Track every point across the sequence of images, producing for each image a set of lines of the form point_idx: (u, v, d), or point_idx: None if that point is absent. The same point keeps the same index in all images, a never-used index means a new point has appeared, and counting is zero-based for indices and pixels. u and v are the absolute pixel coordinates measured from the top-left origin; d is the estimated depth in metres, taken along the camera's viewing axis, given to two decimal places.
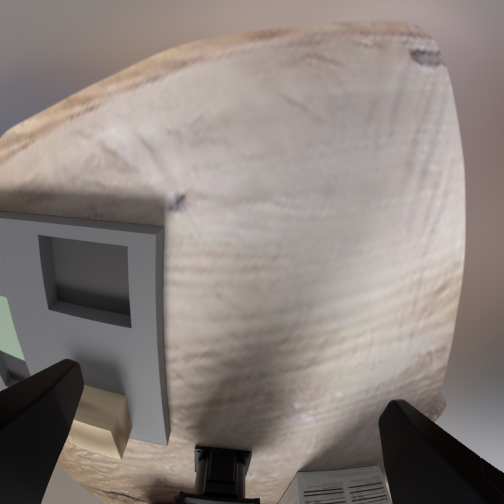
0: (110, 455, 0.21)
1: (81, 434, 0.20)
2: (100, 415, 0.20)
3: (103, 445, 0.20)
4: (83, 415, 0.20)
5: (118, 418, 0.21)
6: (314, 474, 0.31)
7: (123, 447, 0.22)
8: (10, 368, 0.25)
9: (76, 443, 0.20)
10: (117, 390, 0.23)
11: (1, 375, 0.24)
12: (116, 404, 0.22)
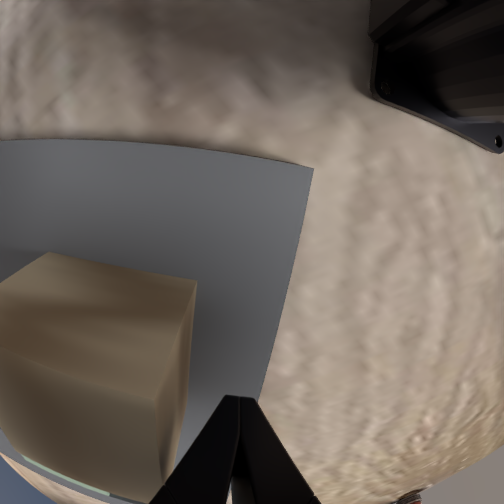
0: (137, 430, 0.04)
1: (54, 451, 0.05)
2: None
3: (63, 416, 0.04)
4: None
5: (8, 288, 0.05)
6: None
7: (139, 346, 0.05)
8: None
9: (147, 500, 0.05)
10: None
11: None
12: None
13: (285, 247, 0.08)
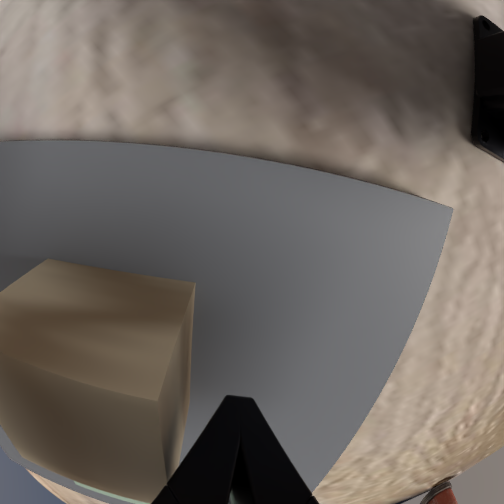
0: (141, 431, 0.04)
1: (60, 455, 0.05)
2: None
3: (69, 420, 0.04)
4: None
5: (10, 296, 0.06)
6: None
7: (140, 349, 0.05)
8: None
9: None
10: None
11: None
12: None
13: (427, 271, 0.08)
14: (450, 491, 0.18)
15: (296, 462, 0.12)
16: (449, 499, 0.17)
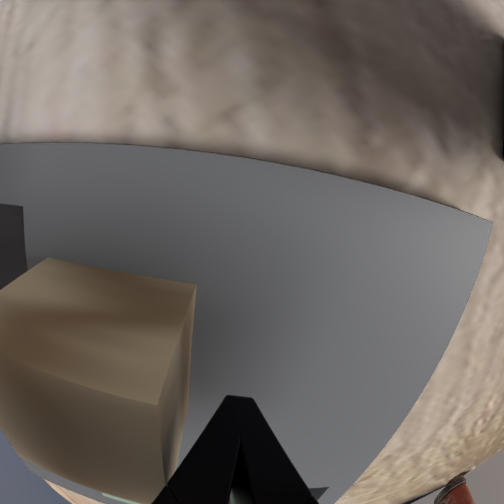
0: (140, 435, 0.04)
1: (58, 456, 0.05)
2: None
3: (67, 422, 0.04)
4: None
5: (9, 295, 0.06)
6: None
7: (140, 351, 0.05)
8: None
9: None
10: (245, 314, 0.09)
11: None
12: None
13: (470, 279, 0.08)
14: (465, 486, 0.18)
15: (339, 462, 0.12)
16: (464, 494, 0.17)
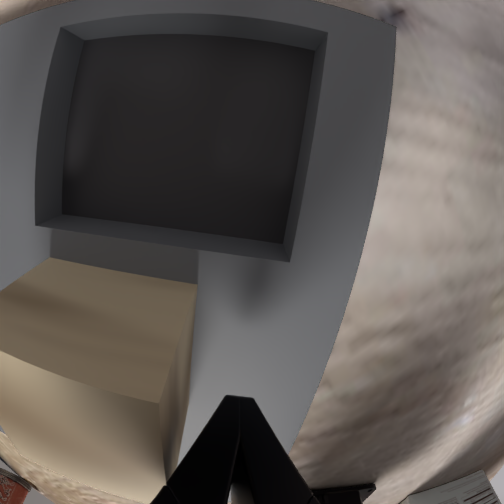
0: (133, 496, 0.05)
1: (28, 420, 0.05)
2: (107, 335, 0.05)
3: (109, 467, 0.05)
4: (34, 334, 0.05)
5: (178, 353, 0.06)
6: (427, 494, 0.18)
7: (175, 468, 0.07)
8: None
9: (20, 450, 0.05)
10: (192, 427, 0.10)
11: None
12: (170, 304, 0.07)
13: None
14: (26, 493, 0.18)
15: None
16: (22, 496, 0.17)
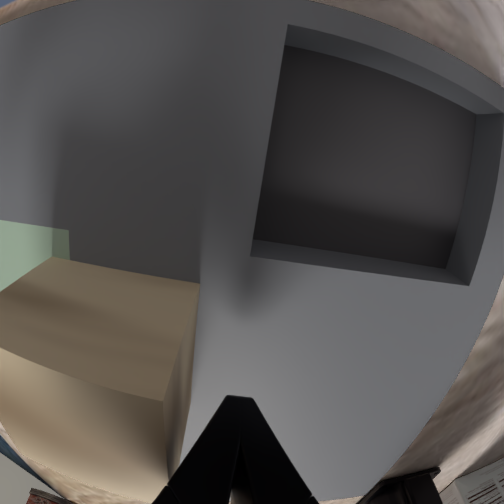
0: (135, 495, 0.05)
1: (30, 418, 0.05)
2: (110, 333, 0.05)
3: (111, 466, 0.05)
4: (37, 333, 0.05)
5: (182, 352, 0.06)
6: (469, 477, 0.19)
7: (177, 466, 0.07)
8: None
9: (22, 449, 0.05)
10: (353, 433, 0.11)
11: None
12: (173, 303, 0.07)
13: (336, 497, 0.13)
14: None
15: None
16: None
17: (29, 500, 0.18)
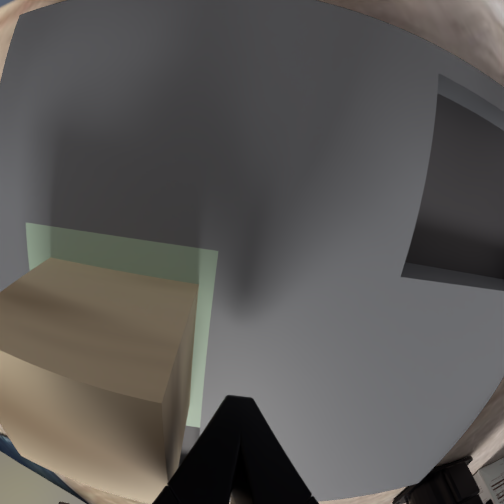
0: (134, 496, 0.05)
1: (29, 420, 0.05)
2: (109, 335, 0.05)
3: (110, 467, 0.05)
4: (36, 335, 0.05)
5: (180, 353, 0.06)
6: (491, 467, 0.19)
7: (176, 467, 0.07)
8: None
9: (21, 450, 0.05)
10: (431, 423, 0.11)
11: None
12: (172, 304, 0.07)
13: (396, 487, 0.14)
14: None
15: None
16: None
17: None
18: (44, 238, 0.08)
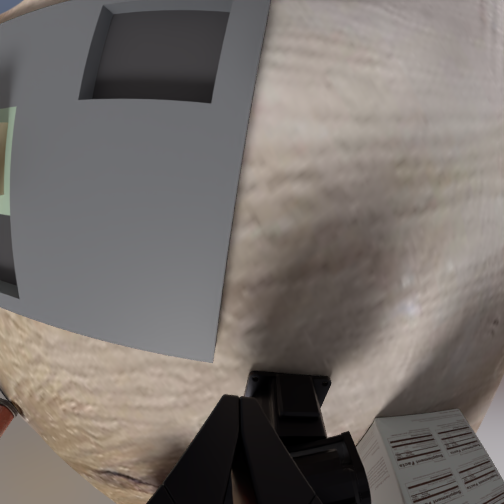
0: None
1: None
2: None
3: None
4: None
5: None
6: (396, 419, 0.24)
7: None
8: None
9: None
10: (152, 237, 0.16)
11: None
12: None
13: (180, 354, 0.19)
14: (11, 418, 0.24)
15: (47, 301, 0.17)
16: (6, 420, 0.23)
17: None
18: None
